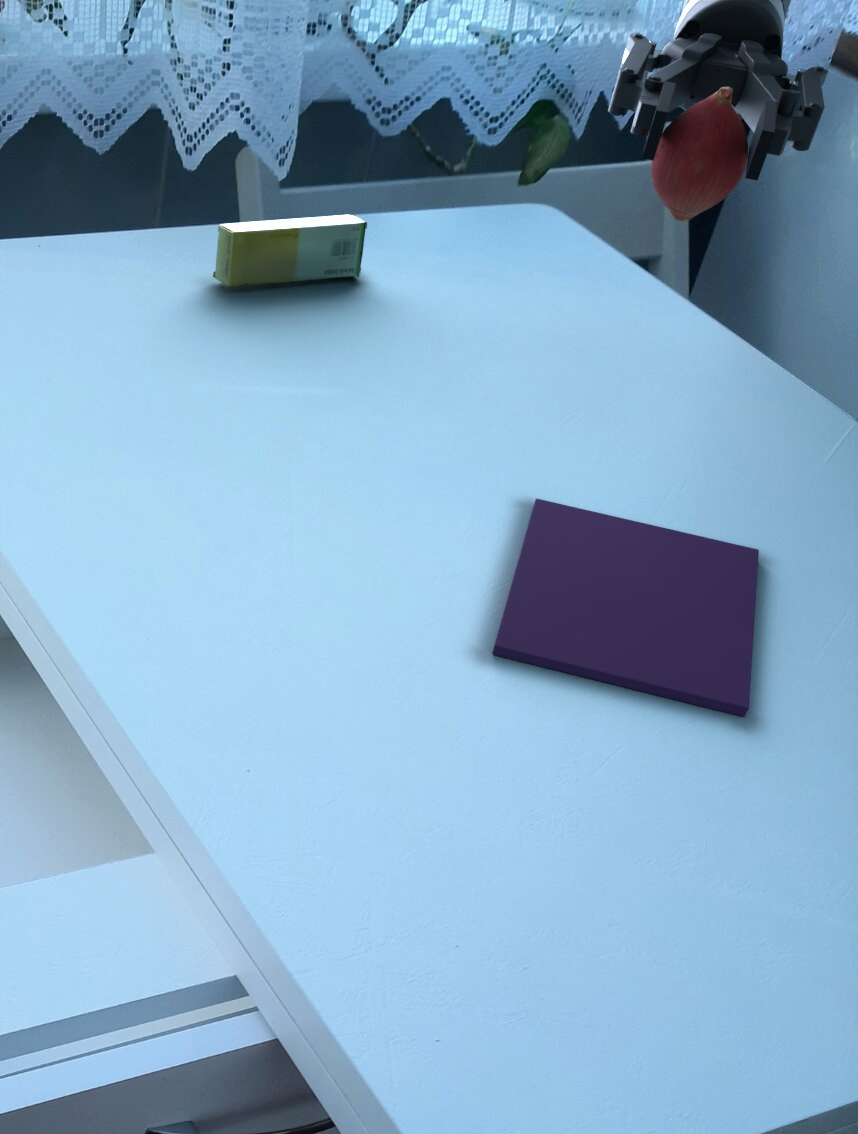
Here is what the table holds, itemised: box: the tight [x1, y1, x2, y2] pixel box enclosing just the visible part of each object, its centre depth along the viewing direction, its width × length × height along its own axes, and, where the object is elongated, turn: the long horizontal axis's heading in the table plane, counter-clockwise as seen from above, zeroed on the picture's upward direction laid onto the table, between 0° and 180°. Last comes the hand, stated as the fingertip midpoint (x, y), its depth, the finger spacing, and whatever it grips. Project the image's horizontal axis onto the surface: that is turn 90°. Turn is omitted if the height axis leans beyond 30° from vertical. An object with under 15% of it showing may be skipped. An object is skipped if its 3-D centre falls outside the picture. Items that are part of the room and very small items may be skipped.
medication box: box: [212, 214, 368, 287], centre depth 117 cm, size 12×3×4 cm, turn 114°
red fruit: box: [650, 87, 749, 223], centre depth 98 cm, size 6×6×8 cm
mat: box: [492, 498, 760, 717], centre depth 90 cm, size 14×18×1 cm
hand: (707, 145), depth 93 cm, fingers closed on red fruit, 6 cm apart
